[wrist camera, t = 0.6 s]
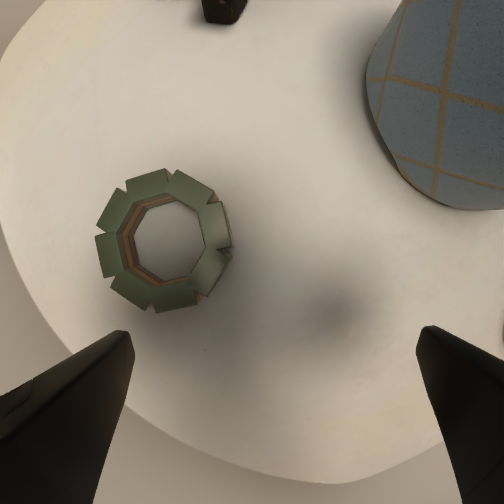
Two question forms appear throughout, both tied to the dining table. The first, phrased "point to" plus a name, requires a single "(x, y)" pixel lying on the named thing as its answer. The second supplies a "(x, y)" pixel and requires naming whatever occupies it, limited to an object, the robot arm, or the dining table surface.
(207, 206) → the ring stack
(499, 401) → the robot arm
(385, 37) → the planter
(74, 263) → the dining table surface
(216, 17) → the film camera
